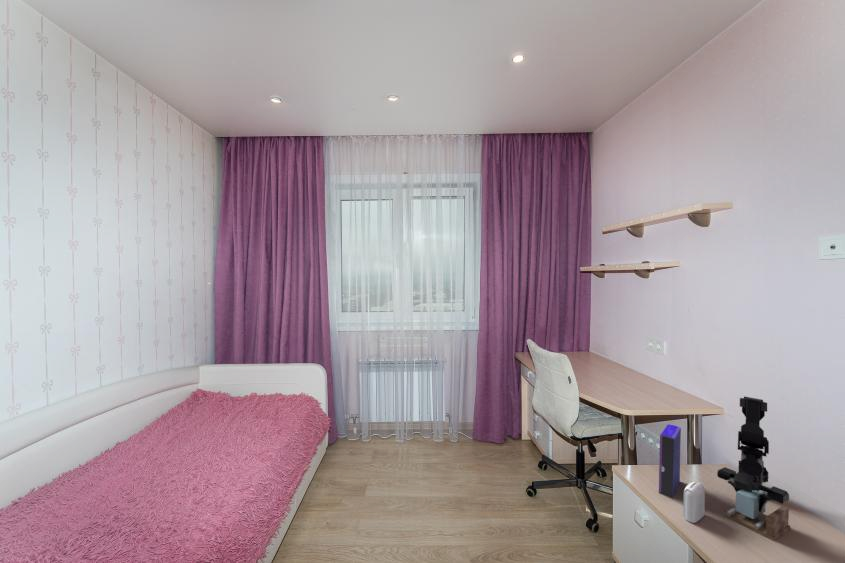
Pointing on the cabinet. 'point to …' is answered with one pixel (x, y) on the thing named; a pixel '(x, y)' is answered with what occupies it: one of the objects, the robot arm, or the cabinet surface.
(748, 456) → the robot arm
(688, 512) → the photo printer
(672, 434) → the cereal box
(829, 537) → the cabinet surface
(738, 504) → the light blue block
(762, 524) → the cleat stand
